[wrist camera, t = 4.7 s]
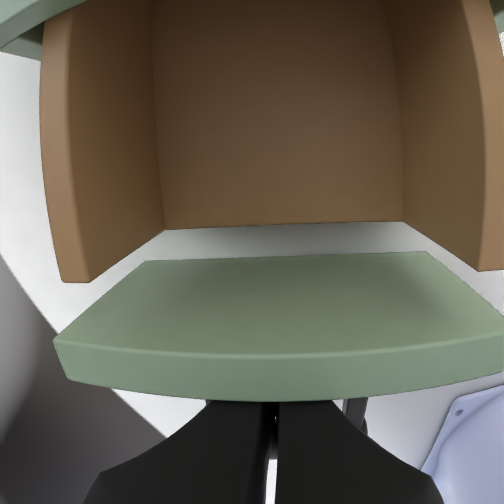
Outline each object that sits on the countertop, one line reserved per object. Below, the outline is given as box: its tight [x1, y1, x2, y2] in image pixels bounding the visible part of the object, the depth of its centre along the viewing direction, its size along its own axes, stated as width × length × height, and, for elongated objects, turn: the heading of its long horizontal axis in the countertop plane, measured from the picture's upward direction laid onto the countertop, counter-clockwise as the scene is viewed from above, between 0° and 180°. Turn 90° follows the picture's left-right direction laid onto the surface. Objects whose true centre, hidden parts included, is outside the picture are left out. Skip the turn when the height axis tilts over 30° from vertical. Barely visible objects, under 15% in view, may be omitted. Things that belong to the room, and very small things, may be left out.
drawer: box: [39, 0, 504, 459], centre depth 7 cm, size 17×10×6 cm, turn 4°
